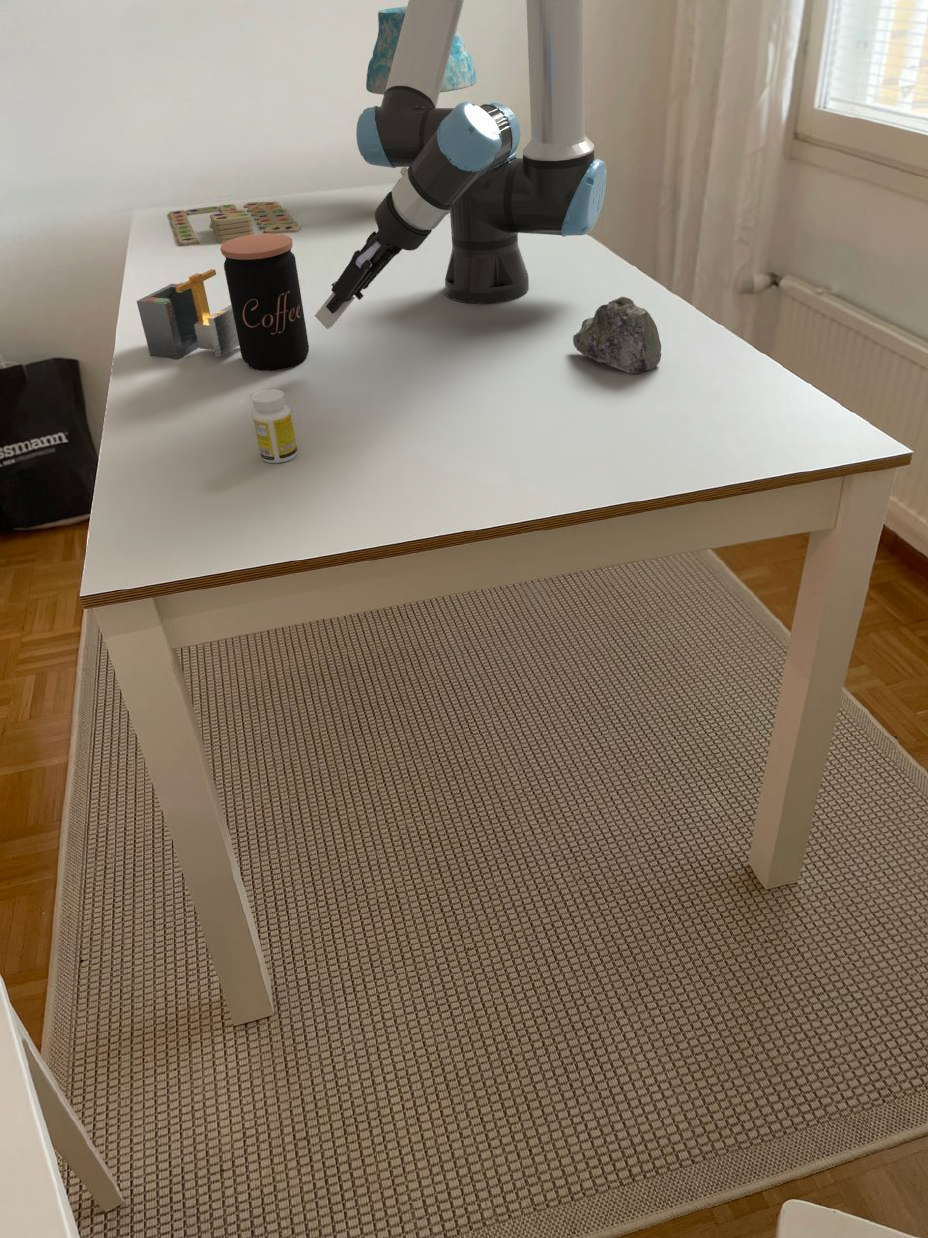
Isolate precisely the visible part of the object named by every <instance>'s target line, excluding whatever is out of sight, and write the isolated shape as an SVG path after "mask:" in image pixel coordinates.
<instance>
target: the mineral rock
mask: <svg viewBox="0 0 928 1238" xmlns="http://www.w3.org/2000/svg"><path fill="white" fill-rule="evenodd" d="M581 323H582V324H581V327H580V329H579V331H578V332H576V334H573V336H572V337H573V338H572V341H573V345H574V346H573V347H574V348H576V350H577V352H580V354H582V355H584V356H586V358H589V359H592V360H593V361H596V362H597V363H604V364H606V365H607V366H609V367H613V368H614V369H615V368H616V369H617V370H620V371H624V372H625V373H633V374H634V375H637V374H641V373H642V372H643V371H652V370H653V369H655V368H656V367H657V366H658V365H659V364H660V362H661V358H662V352H661V351H662V343H661V340H660V339H661V338H660V333H659V331H658V327H657V324H656V322H655V320H654V319H653V317H652V316H651V314H650V313H649V312H648V310H647V309H646V308H643V307H639V306H637V304H635V302H634V300H632V298H629V297H626V296H621V297H618V298H615V299H613V300H611V301H609V302H607V304H602V305H600V306H599V307H598V308H597V309H596V310H595V312H594V316H593V317H588V318H586V319H583V321H582V322H581Z"/></svg>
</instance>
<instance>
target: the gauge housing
mask: <svg viewBox="0 0 928 1238" xmlns="http://www.w3.org/2000/svg"><path fill="white" fill-rule="evenodd" d="M183 283H184V282H180V283H170V284H168V285H166V286H165V287H161V288H160V289H158V290H156V291H154V292H152V293H149V294H148V295H146V296H144V297H142V298H140V299H138V300H136V304H137V308H138V313H139V317H140V321H141V324H142V325H141V326H142V328H143V333H144V336H145V340H146V344H147V348H148V352H149V355H150V357H155V358H156V357H157V358H162V359H163V358H165V359H171V360H180V359H182V358H184V357H185V356H187V355H189V354H190V353H192V352H194V351H196V350H197V349H200V348H199V345H198V340H197V336H196V331H195V327H194V324H195V323H197V322H198V317H197V312H196V308H195V303H194V299H193V294H192V290H191V288H189V289H187V290H185V291H183V292H181V293H179V292H177V291H176V287H177V286H179V285H181V284H183Z"/></svg>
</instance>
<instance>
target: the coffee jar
mask: <svg viewBox="0 0 928 1238" xmlns="http://www.w3.org/2000/svg"><path fill="white" fill-rule="evenodd" d="M292 248H293V238H292V237H291V236H289V235H286V234H284V233H276V234H274V233H264V232H263V233H256V234H255V233H254V234H253V235H247V236H242V237H238V238H234V239H231V240H229V241H227V242H225V243H224V244H220V252H221V255H223V257H224V258H225V260H224V262H223V263H224V264H223V268H224V274H225V279H226V284H227V290H228V295H229V299H230V300H229V301H230V305H232V311H233V316H234V321H235V326H236V331H237V336H238V341H239V346H238V347H239V350H240V355H241V356H240V357H241V358H242V360H243V361H244V362H245V364H246V365H248V367H249V368H251V369H252V370H256V371H262V372H276V371H282V370H286V369H291V368H294V367H296V366H298V365H300V364H302V363H303V362H304V361H305V360H306V359H307V356H308V354H309V353H310V352H309V351H310V345H309V339H308V333H307V332H308V331H307V327H306V320H305V314H304V305H303V300H302V293H301V288H300V287H301V286H300V280H299V275H298V267H297V261H296V256H295V254H294V253H293V252H292V251H291V250H292Z"/></svg>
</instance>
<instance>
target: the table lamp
mask: <svg viewBox="0 0 928 1238" xmlns="http://www.w3.org/2000/svg"><path fill="white" fill-rule="evenodd" d="M406 9H407V6H399V7H391V8H384V9H380V10H378V12H377V22H378V33H377V38H376V42H375V45H374V48H373V51H372V57H371V58H370V60H369V62H368V66H367V73H366V82H365V89H366V90H367V92H369V93H371V94H375V95H383V96H384V93H385V90H386V86H387V82H388V79H389V75H390V71H391V67H392V63H393V59H394V55H395V52H396V48H397V44H398V40H399V36H400V32H401V28H402V25H403V21H404V17H405V13H406ZM476 72H477V71H476V69H475V65H474V61H473V59H472V56H471V53H469V51H468V50H467V49H466V44H465V43H464V40H463V38H462V36H461V35H460V32H459V29H458V28H457V29H456V33H455V37H454V41H453V44H452V48H451V52H450V56H449V60H448V64H447V67H446V71H445V75H444V79H443V83H442V87H441V90H440V94H441V93H448V92H453V91H458V90H463V89H467V88H469V87H473V86H474V85H476V83H478V78H477V74H476ZM447 214H450V211H449V212H448V213H447Z"/></svg>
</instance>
